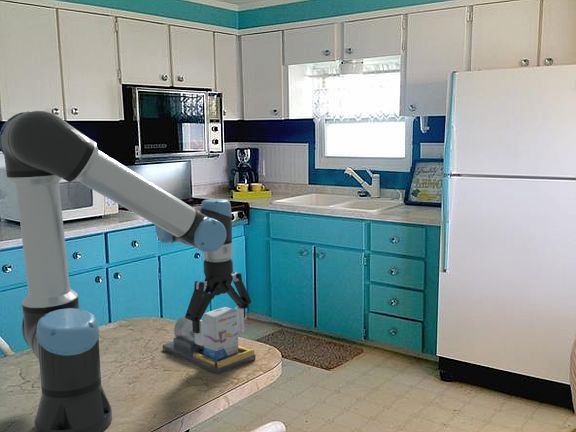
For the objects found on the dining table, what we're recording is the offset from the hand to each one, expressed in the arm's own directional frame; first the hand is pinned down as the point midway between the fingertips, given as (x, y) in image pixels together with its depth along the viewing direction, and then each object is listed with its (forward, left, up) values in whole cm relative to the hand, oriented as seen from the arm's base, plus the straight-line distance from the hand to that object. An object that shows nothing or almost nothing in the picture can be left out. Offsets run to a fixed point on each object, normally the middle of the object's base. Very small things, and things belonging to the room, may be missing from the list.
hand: (220, 337), depth 157 cm
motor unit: (0, +6, -6) cm, 8 cm away
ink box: (0, 0, -5) cm, 5 cm away
